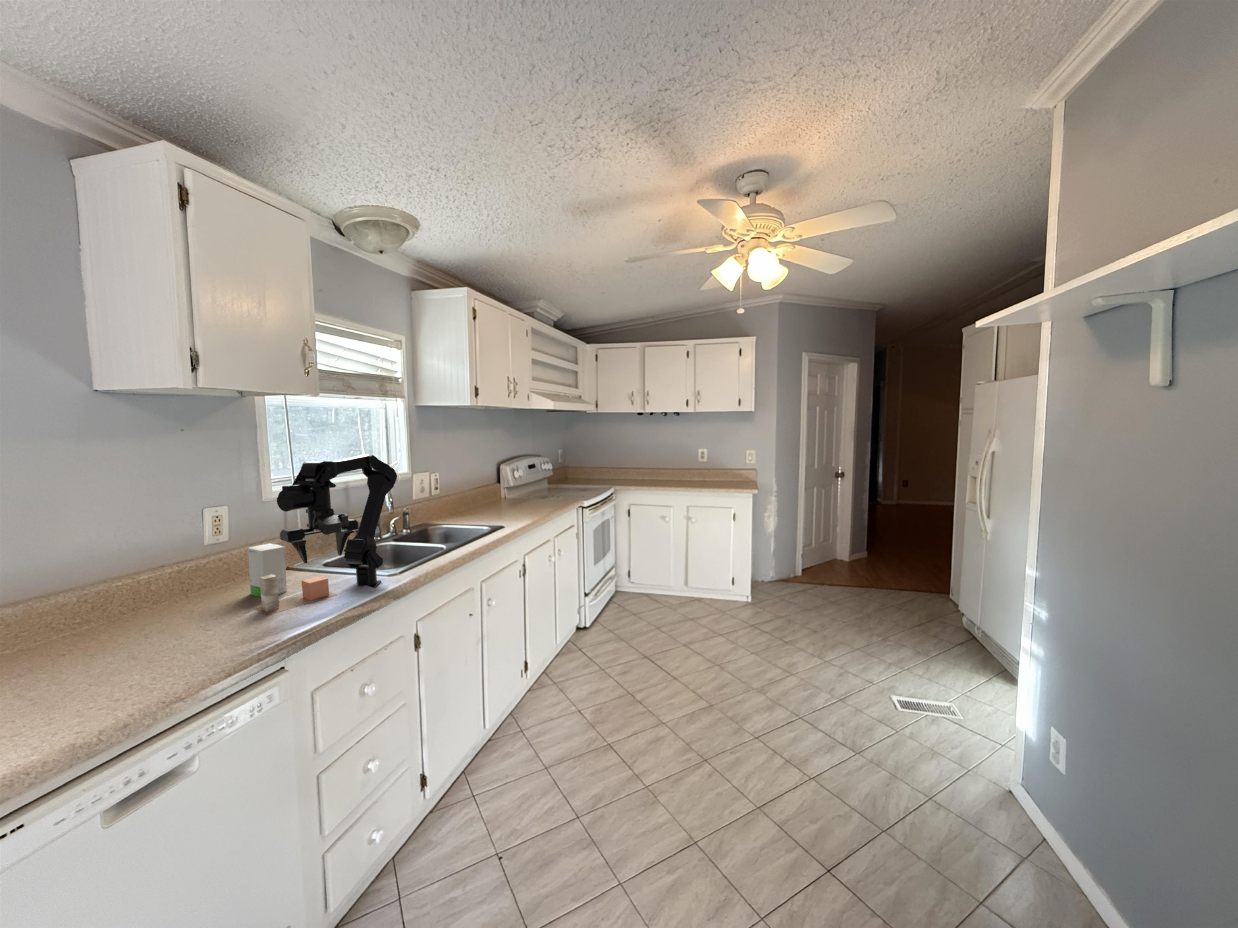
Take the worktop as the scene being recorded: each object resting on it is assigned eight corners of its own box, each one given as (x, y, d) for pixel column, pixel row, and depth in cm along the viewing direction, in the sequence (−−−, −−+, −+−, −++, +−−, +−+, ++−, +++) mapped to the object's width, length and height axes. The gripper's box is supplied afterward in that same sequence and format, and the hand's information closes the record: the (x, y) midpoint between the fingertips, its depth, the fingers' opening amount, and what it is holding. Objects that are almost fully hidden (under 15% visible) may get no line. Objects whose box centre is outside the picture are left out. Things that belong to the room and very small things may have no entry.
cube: (321, 591, 146) (319, 575, 146) (329, 594, 143) (327, 578, 143) (302, 597, 142) (301, 580, 142) (310, 600, 139) (309, 583, 139)
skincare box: (250, 598, 146) (245, 547, 145) (274, 591, 152) (270, 542, 151) (265, 602, 142) (260, 550, 141) (289, 595, 148) (285, 545, 147)
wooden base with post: (323, 593, 149) (321, 560, 148) (338, 598, 144) (335, 564, 143) (253, 612, 134) (250, 576, 133) (267, 619, 129) (264, 581, 128)
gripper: (295, 513, 126) (299, 572, 127) (366, 502, 141) (370, 555, 143) (276, 509, 132) (281, 565, 134) (347, 499, 148) (351, 550, 149)
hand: (323, 559), depth 140 cm, fingers open, 9 cm apart
